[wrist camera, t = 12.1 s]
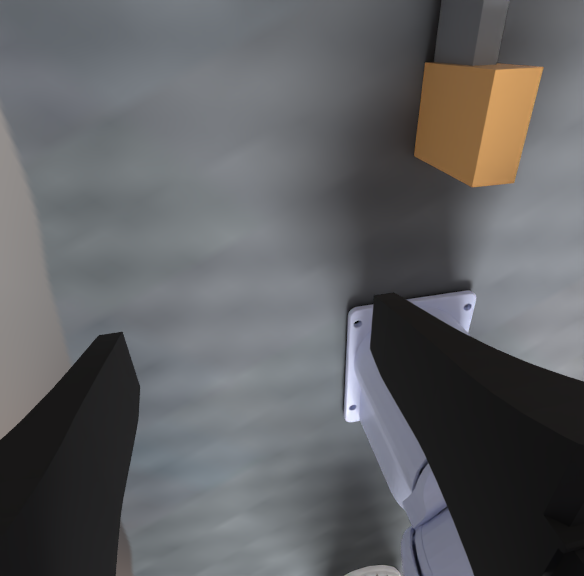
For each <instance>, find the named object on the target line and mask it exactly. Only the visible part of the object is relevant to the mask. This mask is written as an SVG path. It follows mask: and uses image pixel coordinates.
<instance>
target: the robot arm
mask: <svg viewBox="0 0 584 576" xmlns="http://www.w3.org/2000/svg"><path fill="white" fill-rule="evenodd" d="M475 302H476V295H475V294H474V293H473V292H472V291H470V290H467V291H460V292H453V293H446V294H440V295H433V296H426V297H419V298H413V299H404V298H403V297H401V296H399V295H397V294H395V293H388V294H381V295H374V303H373V304H372V305H365V306H359V307H354V308H353V309H351V310H350V311H349V314H348V330H347V353H346V375H345V398H344V418H345V420H346V421H347V422H355V421H360V422H361V424H362V426H363V429H364V431H365V433H366V436H367V438H368V440H369V443H370V445H371V447H372V449H373V452H374V454H375V456H376V459H377V461H378V463H379V466H380V468H381V470H382V473H383V475H384V477H385V480H386V482H387V484H388V487H389V489H390V491H391V493H392V495H393V496H394V498H395V500H396V501H397V502H398V504H399V505H400V506H401V507H402V508H403V509H404V510H405V511H406V514H407V516H408V518H409V520H410V523H411V525H412V526H411V527H409V528H408V529H407V530H406V531H405V532H404V534H403V536H402V540H401V558H402V570H403V576H584V382H583V381H580V380H577V379H574V378H570V377H567V376H564V375H561V374H558V373H556V372H553V371H550V370H547V369H544V368H541V367H538V366H536V365H533V364H530V363H528V362H525V361H523V360H520V359H518V358H516V357H513V356H511V355H509V354H506V353H504V352H502V351H499V350H497V349H495V348H493V347H491V346H488V345H486V344H484V343H482V342H480V341H478V340H476V339H474V338H472V337H471V336H470V335H469V333H468V331H469V327H470V323H471V319H472V314H473V310H474V306H475ZM466 304H467V305H466ZM465 305H466V306H465ZM464 306H465V307H464ZM358 320H359V322H358V323H357V324H354V323H355V322H356V321H358ZM139 399H140V385H139V382H138V379H137V376H136V372H135V369H134V366H133V363H132V360H131V357H130V354H129V351H128V347H127V344H126V341H125V338H124V335H123V332H118V333H111V334H104V335H99V336H98V337H97V338H96V339H95V340H94V341H93V343H92V344H91V345H90V346H89V347H88V348H87V350H86V351H85V352H84V353H83V354H82V355H81V357H80V358H79V359H78V360H77V361H76V363H75V364H74V365H73V366H72V367H71V368H70V369H69V371H68V372H67V373H66V374H65V375H64V376H63V377H62V379H61V380H60V381H59V382H58V383H57V384H56V385H55V387H54V388H53V389H52V390H51V391H50V392H49V393H48V394H47V395H46V396H45V397H44V398H43V399H42V400H41V401H40V402H39V403H38V404H37V405H36V406H35V407H34V408H33V409H32V410H31V411H30V412H29V413H28V414H27V415H26V416H25V418H24V419H22V421H20V423H18V424H17V425H16V426H15V427H14V428H13V429H12V430H11V431H10V432H9V433H8V434H7V435H6V436H4V437H3V438H2V439H1V440H0V576H116V562H117V550H118V539H119V528H120V517H121V510H122V503H123V497H124V492H125V487H126V481H127V476H128V471H129V466H130V461H131V456H132V451H133V445H134V440H135V435H136V430H137V424H138V416H139ZM351 405H352V406H351Z"/></svg>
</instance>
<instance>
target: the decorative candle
mask: <svg viewBox="0 0 584 576" xmlns="http://www.w3.org/2000/svg"><path fill="white" fill-rule="evenodd" d="M344 576H401V575H400V572H399V571H398V570H397V569H396V568H395V567H392V566H387V565H375V566H367V567H364V568H361V569H357V570H354V571H352V572H350V573H348V574H346V575H344Z"/></svg>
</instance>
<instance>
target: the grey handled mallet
mask: <svg viewBox="0 0 584 576" xmlns="http://www.w3.org/2000/svg"><path fill="white" fill-rule="evenodd" d="M508 5H509V0H442V1H441V9H440V16H439V24H438V32H437V40H436V47H435V55H434V62H425V68H424V76H423V84H422V93H421V101H420V109H419V118H418V126H417V135H416V143H415V151H414V156H415V157H417V158H418V159H420V160H422V161H424V162H426V163H428V164H430V165H431V166H433V167H435V168H437V169H439V170H441V171H443V172H444V173H446V174H448V175H450V176H452V177H454V178H456V179H458V180H459V181H461V182H463V183H465V184H467V185H469V186H471V187H480V186H489V185H499V184H508V183H514V181H515V177H516V173H517V169H518V166H519V162H520V158H521V154H522V150H523V146H524V142H525V138H526V134H527V130H528V126H529V122H530V118H531V114H532V110H533V107H534V103H535V99H536V95H537V91H538V87H539V83H540V79H541V75H542V71H543V67H537V66H525V65H513V64H500V63H497V60H498V55H499V50H500V45H501V40H502V35H503V30H504V25H505V20H506V15H507V10H508Z"/></svg>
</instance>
